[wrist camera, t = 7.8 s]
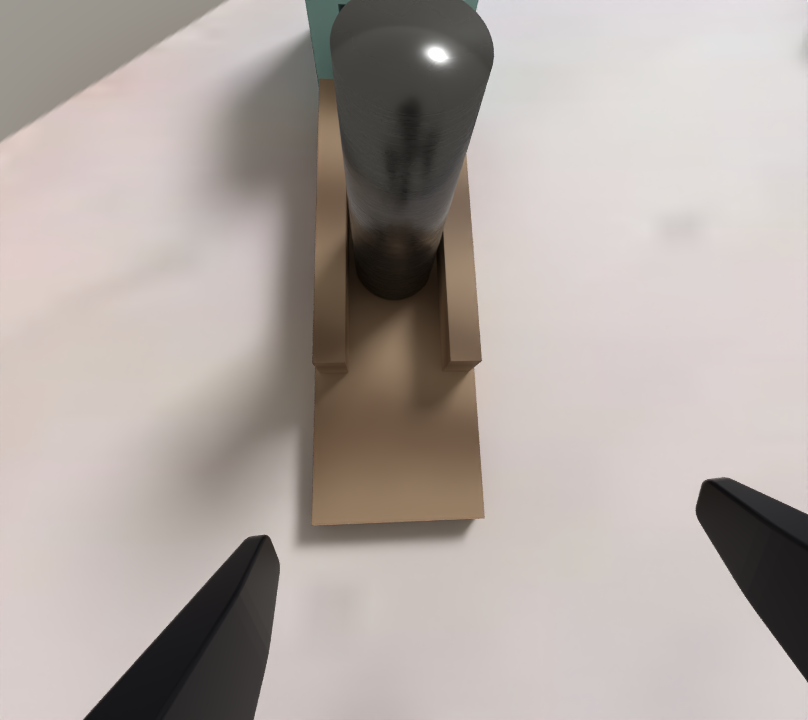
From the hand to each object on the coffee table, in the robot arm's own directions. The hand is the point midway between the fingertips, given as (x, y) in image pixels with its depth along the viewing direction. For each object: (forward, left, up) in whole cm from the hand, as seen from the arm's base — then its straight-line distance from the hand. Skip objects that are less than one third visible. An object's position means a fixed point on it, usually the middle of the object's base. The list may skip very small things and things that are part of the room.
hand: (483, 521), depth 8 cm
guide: (+5, +7, -9) cm, 12 cm away
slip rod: (+10, +12, -8) cm, 17 cm away
